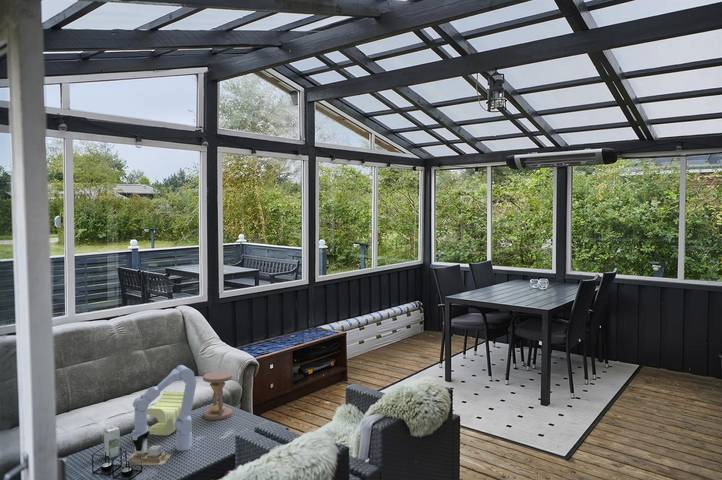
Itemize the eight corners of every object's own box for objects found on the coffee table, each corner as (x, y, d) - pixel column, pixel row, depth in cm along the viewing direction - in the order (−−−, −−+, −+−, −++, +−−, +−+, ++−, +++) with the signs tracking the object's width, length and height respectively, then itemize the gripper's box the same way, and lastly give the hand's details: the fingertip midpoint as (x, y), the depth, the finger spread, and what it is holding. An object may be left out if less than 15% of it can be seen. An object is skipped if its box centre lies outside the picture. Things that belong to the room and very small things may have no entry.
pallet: (134, 455, 285) (134, 449, 285) (172, 455, 285) (172, 450, 284) (122, 466, 272) (122, 460, 272) (162, 467, 272) (162, 461, 272)
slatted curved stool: (165, 441, 303) (165, 409, 302) (138, 440, 305) (138, 408, 304) (189, 421, 333) (189, 392, 332) (164, 420, 334) (164, 391, 334)
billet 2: (152, 457, 281) (152, 445, 280) (161, 457, 280) (160, 445, 280) (148, 460, 276) (148, 449, 276) (157, 461, 276) (157, 449, 276)
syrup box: (114, 452, 288) (114, 425, 288) (120, 455, 284) (119, 427, 284) (103, 456, 284) (103, 428, 283) (109, 459, 280) (108, 431, 280)
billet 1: (147, 449, 281) (147, 438, 280) (143, 453, 276) (143, 441, 276) (138, 449, 281) (138, 438, 280) (134, 453, 276) (134, 441, 276)
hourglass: (202, 411, 350) (202, 372, 349) (231, 409, 355) (231, 370, 354) (203, 421, 333) (203, 380, 332) (233, 418, 338) (233, 377, 337)
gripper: (139, 416, 285) (139, 442, 286) (126, 427, 271) (126, 454, 271) (152, 416, 285) (152, 443, 285) (140, 427, 270) (140, 454, 271)
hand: (140, 448), depth 278 cm, fingers closed on billet 1, 4 cm apart
